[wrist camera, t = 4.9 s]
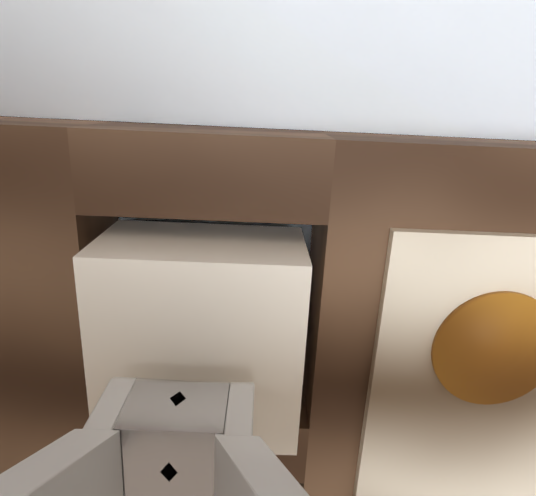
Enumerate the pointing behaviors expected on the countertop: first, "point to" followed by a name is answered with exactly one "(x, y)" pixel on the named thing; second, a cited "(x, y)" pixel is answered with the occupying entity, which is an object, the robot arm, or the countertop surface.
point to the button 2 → (199, 312)
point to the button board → (321, 294)
